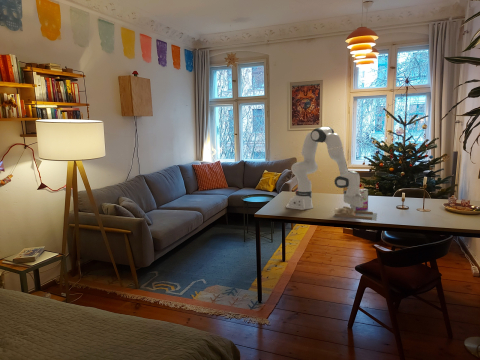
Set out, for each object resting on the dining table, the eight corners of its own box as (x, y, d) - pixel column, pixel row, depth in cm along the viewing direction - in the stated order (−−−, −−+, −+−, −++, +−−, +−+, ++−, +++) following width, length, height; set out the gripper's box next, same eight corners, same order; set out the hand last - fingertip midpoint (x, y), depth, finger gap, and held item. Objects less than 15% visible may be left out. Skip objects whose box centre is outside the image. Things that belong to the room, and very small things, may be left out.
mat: (333, 217, 250) (333, 214, 250) (336, 210, 268) (336, 208, 268) (376, 221, 238) (376, 218, 238) (377, 213, 256) (377, 211, 256)
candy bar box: (364, 208, 274) (364, 188, 272) (368, 209, 270) (368, 189, 267) (352, 209, 271) (352, 189, 269) (355, 210, 267) (356, 190, 264)
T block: (348, 212, 261) (348, 206, 260) (353, 216, 249) (354, 210, 248) (332, 213, 260) (332, 206, 260) (338, 217, 249) (338, 210, 248)
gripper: (365, 195, 242) (365, 213, 244) (349, 190, 262) (349, 207, 264) (358, 195, 240) (357, 214, 243) (342, 190, 260) (341, 208, 262)
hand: (353, 210), depth 253 cm, fingers closed
